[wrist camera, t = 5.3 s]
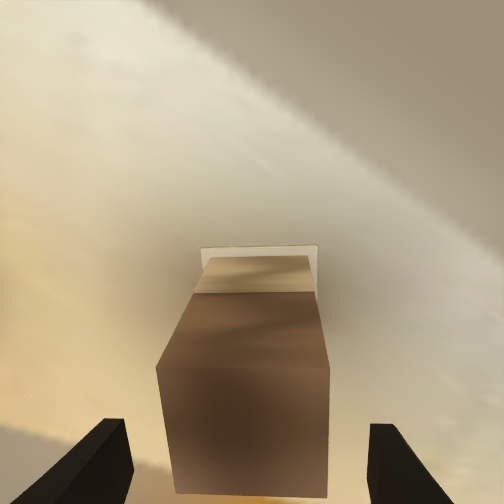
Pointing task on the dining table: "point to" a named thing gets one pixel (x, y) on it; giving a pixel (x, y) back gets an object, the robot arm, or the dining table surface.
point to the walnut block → (247, 396)
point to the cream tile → (266, 251)
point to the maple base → (256, 275)
